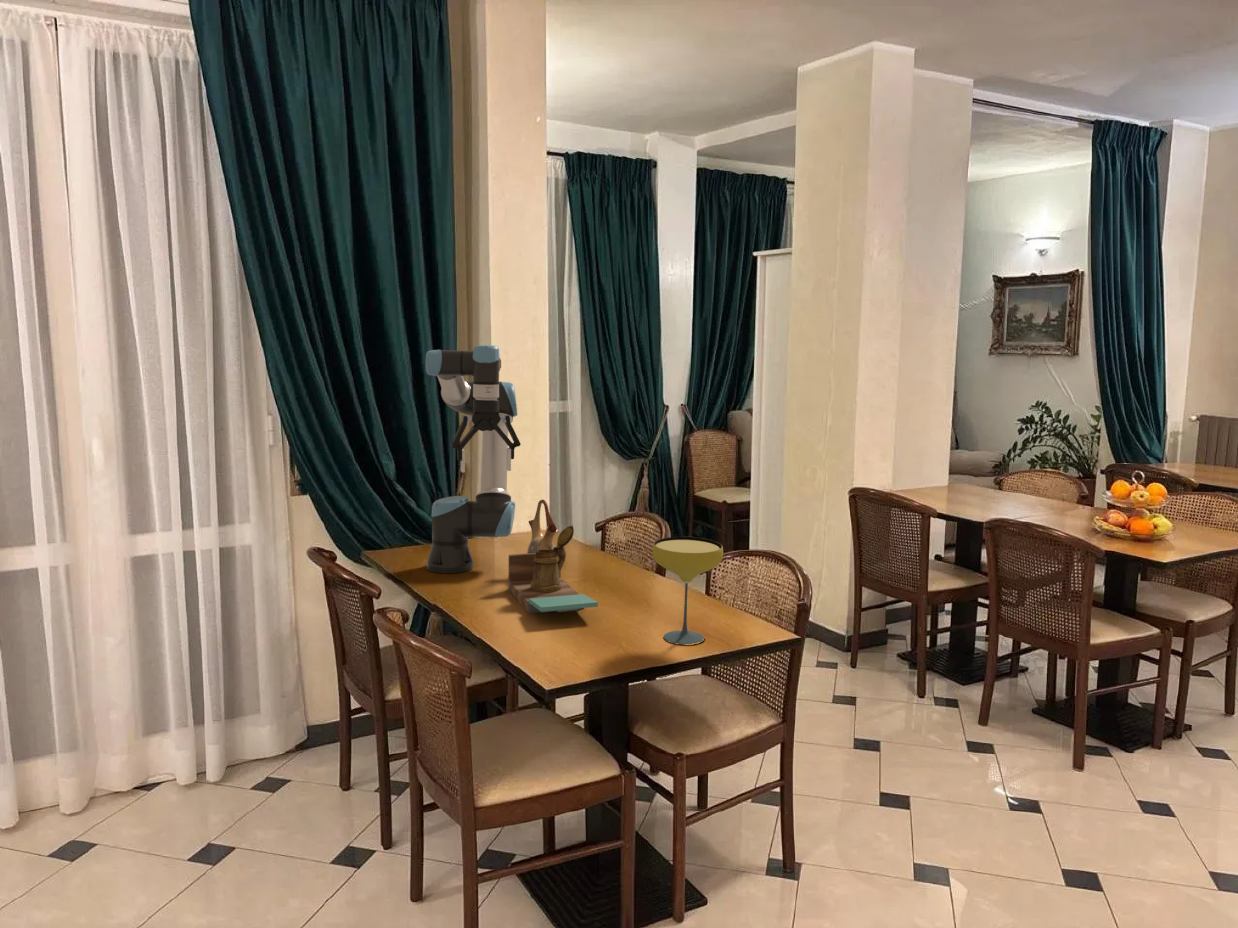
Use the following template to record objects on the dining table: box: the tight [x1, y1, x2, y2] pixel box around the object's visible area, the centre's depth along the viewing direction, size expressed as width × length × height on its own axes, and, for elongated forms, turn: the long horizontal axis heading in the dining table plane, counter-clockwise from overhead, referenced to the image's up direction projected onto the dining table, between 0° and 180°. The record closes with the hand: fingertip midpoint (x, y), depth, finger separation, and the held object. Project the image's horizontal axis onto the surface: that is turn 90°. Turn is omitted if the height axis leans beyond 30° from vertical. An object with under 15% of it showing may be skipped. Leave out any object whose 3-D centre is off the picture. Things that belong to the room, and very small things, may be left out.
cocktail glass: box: [651, 536, 724, 644], centre depth 234 cm, size 18×18×25 cm
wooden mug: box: [531, 525, 575, 592], centre depth 267 cm, size 9×14×18 cm, turn 124°
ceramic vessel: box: [526, 499, 558, 553], centre depth 288 cm, size 16×9×25 cm, turn 31°
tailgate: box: [529, 593, 599, 613], centre depth 249 cm, size 2×16×12 cm
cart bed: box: [508, 552, 585, 615], centre depth 265 cm, size 24×16×11 cm
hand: (485, 471), depth 266 cm, fingers open, 13 cm apart
